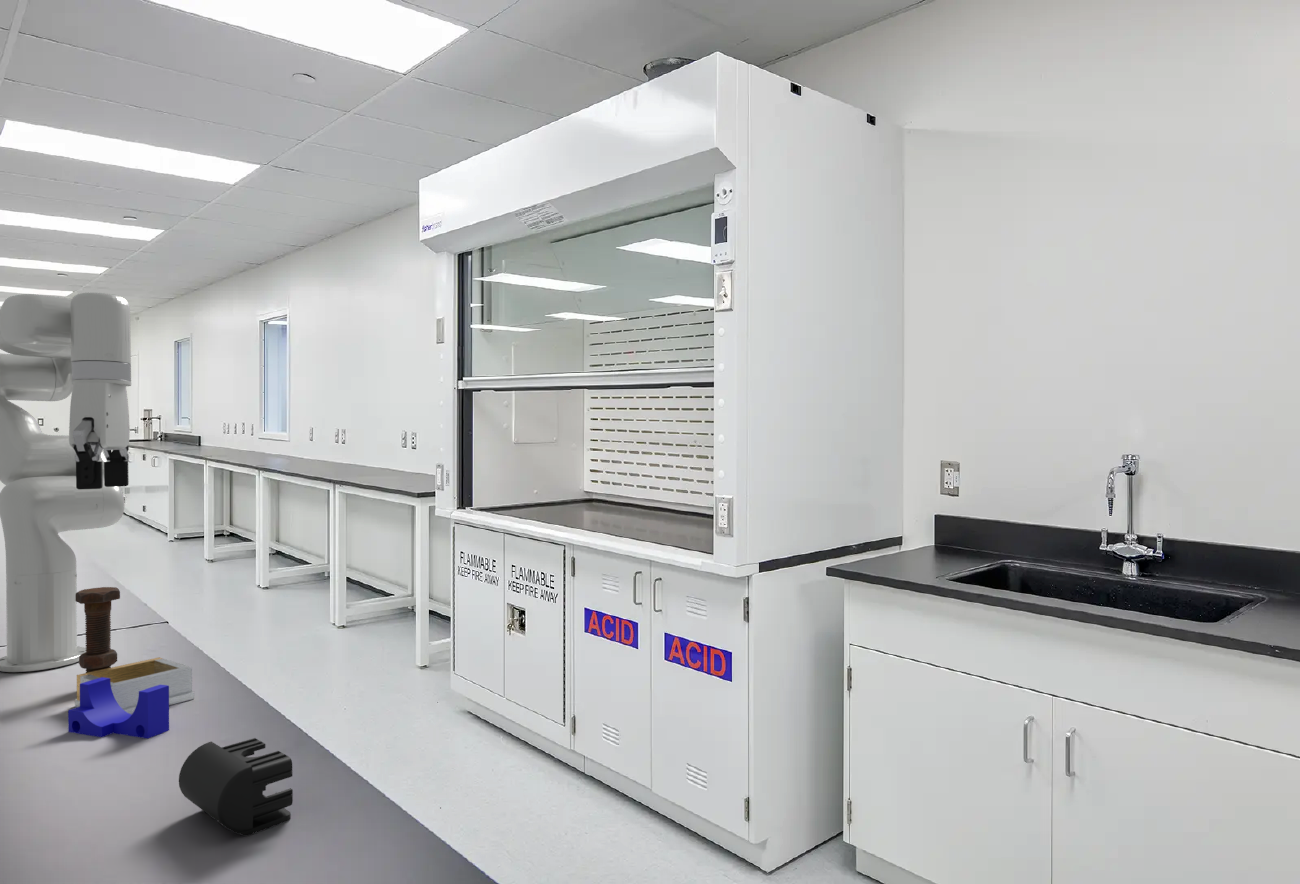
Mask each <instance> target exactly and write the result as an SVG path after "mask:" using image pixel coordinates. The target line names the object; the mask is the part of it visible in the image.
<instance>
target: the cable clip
mask: <svg viewBox="0 0 1300 884" xmlns="http://www.w3.org/2000/svg"><path fill="white" fill-rule="evenodd" d="M67 715H68V716H67V719H68V720H67V721H68V724H67V727H68V728H67V729H68V730H67V731H68V733H71V734H72V733H73V734H77V735H85V736H92V737H97V738H104V737H106V736H110V735H113V734H116V735H122V736H128V737H135V738H141V739H146V740H148V739H151V738H154V737H155V736H158V735H161V734H164V733H166V732H169V731H170V705H169V686H168V685H157V686H154V687H151V688H148V689H145V690H142V691H139V697H138V703H137V706H136V708H135V711H134V712H133V714H129V713H127V712H126V711H124V710H123V709H122V708H121V707H120V706H119V704H118V703H117V701H116V700H115V698H114V695H113V693H112V689H111V683H110V678H104V677H101V678H98V679H94V680H91V681H88V682H84V683H81V684H80V707H74V708H70V709H68V714H67Z"/></svg>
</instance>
